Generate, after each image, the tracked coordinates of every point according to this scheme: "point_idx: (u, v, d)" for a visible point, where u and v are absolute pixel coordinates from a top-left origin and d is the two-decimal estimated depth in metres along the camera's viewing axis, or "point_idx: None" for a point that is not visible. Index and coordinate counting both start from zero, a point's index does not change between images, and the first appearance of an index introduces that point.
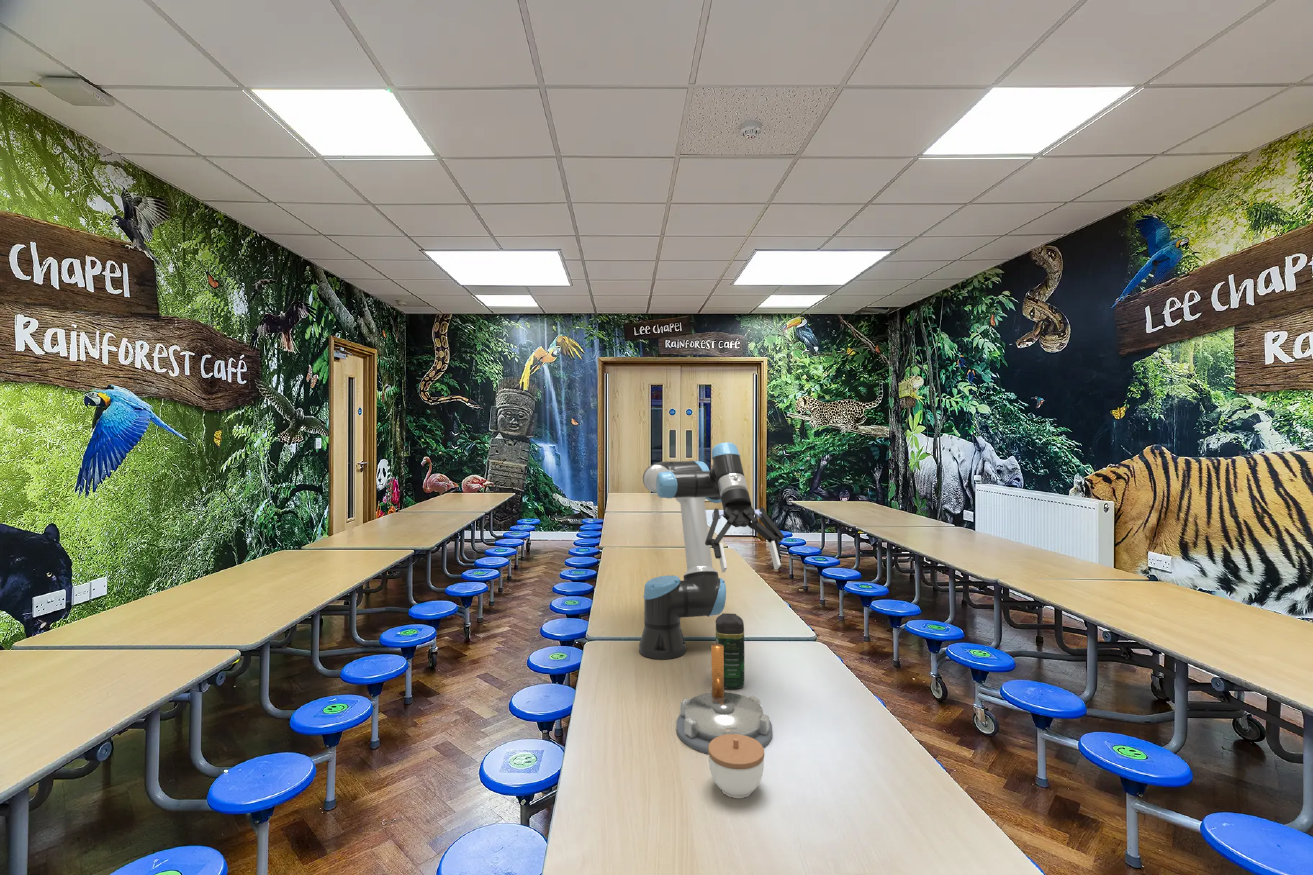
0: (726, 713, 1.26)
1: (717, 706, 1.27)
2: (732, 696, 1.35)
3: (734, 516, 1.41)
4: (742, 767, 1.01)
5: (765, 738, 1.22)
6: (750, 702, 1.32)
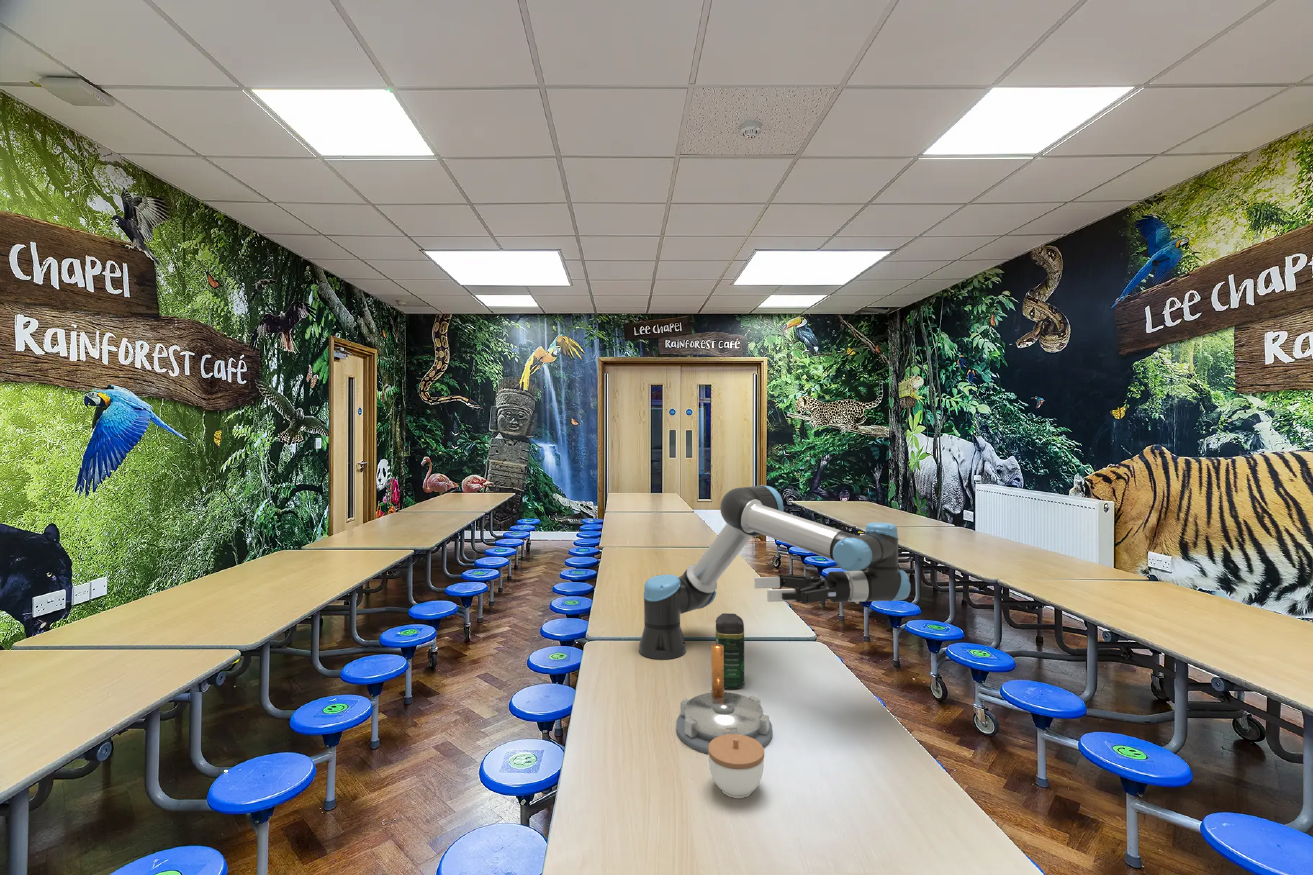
0: (726, 713, 1.26)
1: (717, 706, 1.27)
2: (732, 696, 1.35)
3: None
4: (742, 767, 1.01)
5: (765, 738, 1.22)
6: (750, 702, 1.32)
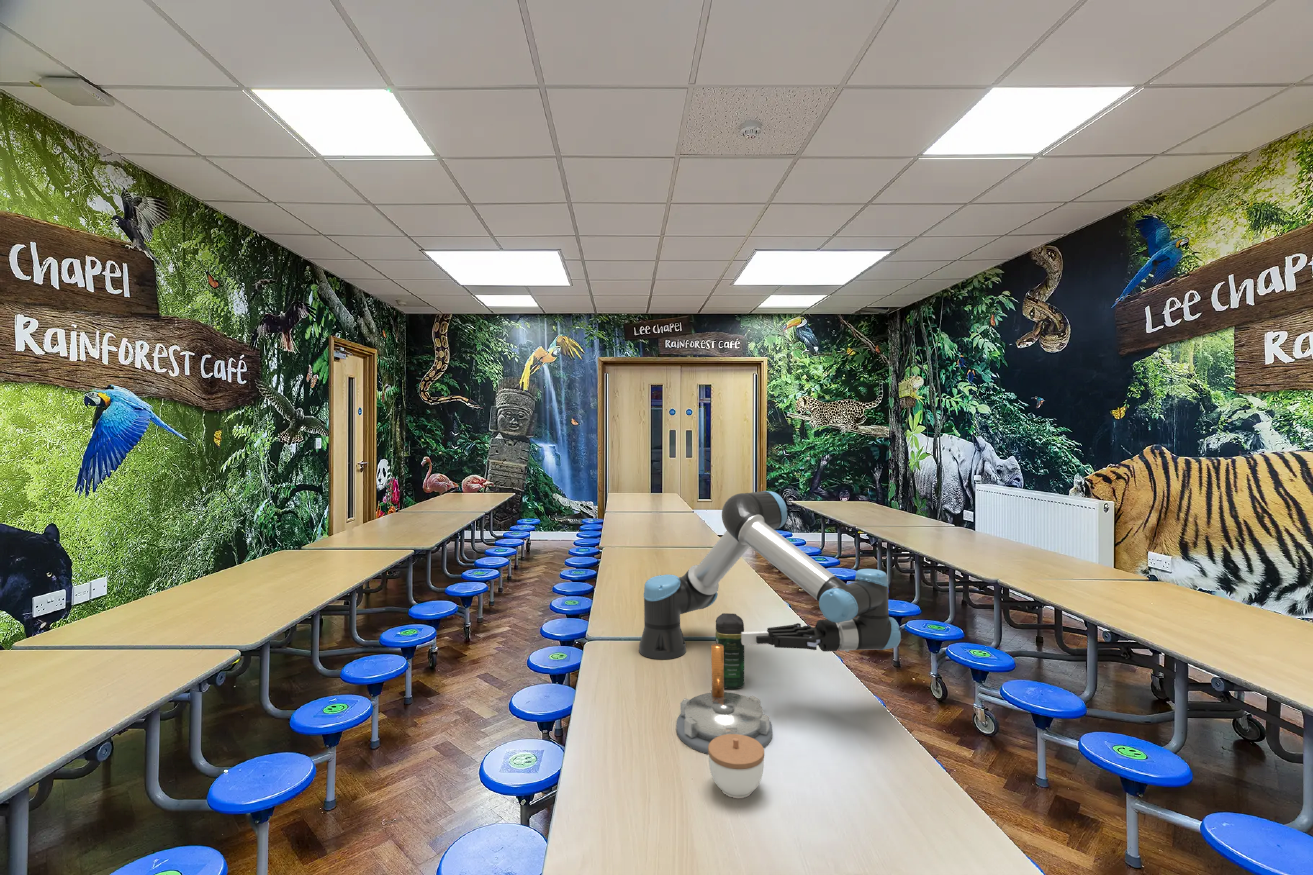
0: (726, 713, 1.26)
1: (717, 706, 1.27)
2: (732, 696, 1.35)
3: None
4: (742, 767, 1.01)
5: (765, 738, 1.22)
6: (750, 702, 1.32)
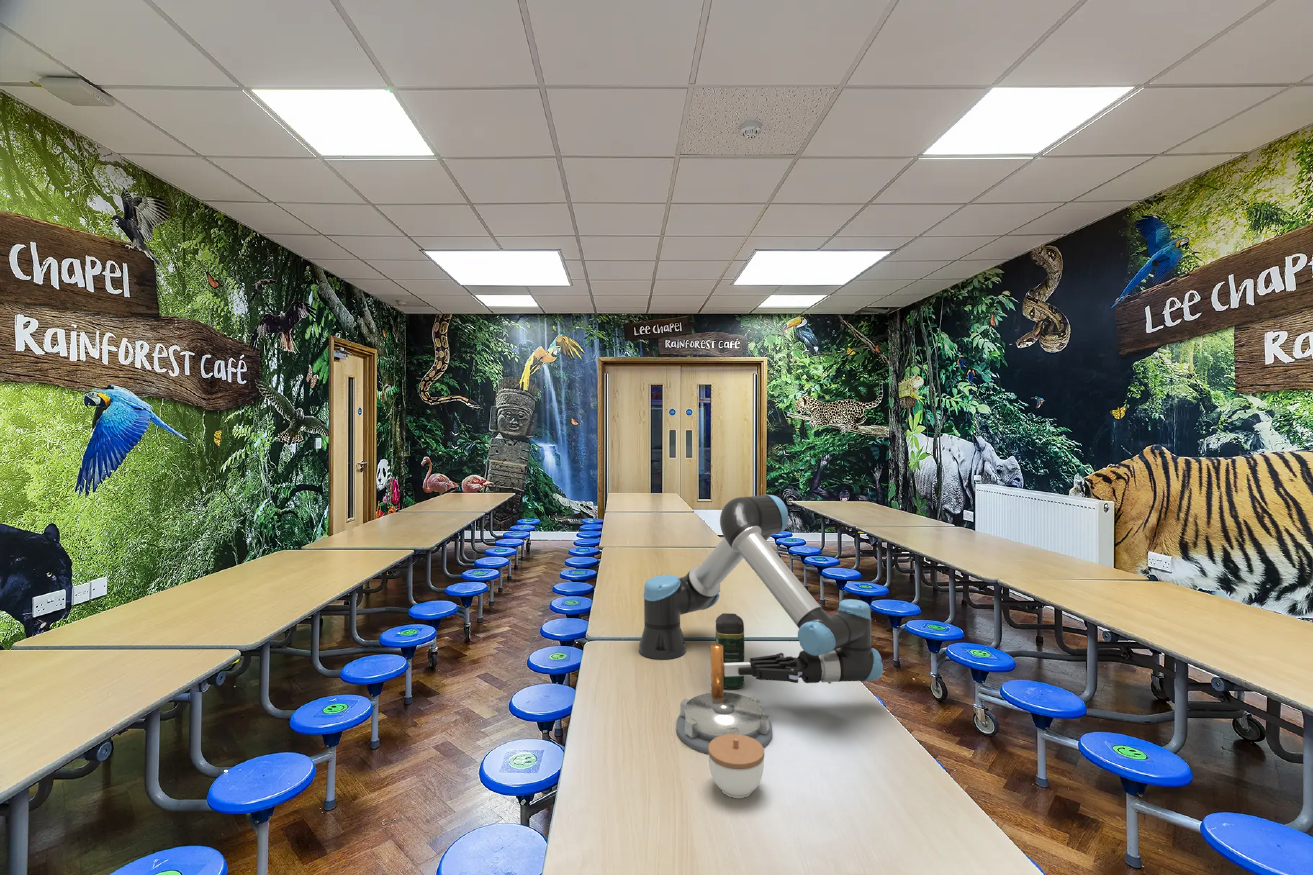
0: (726, 713, 1.26)
1: (717, 706, 1.27)
2: (732, 696, 1.35)
3: None
4: (742, 767, 1.01)
5: (765, 738, 1.22)
6: (750, 702, 1.32)
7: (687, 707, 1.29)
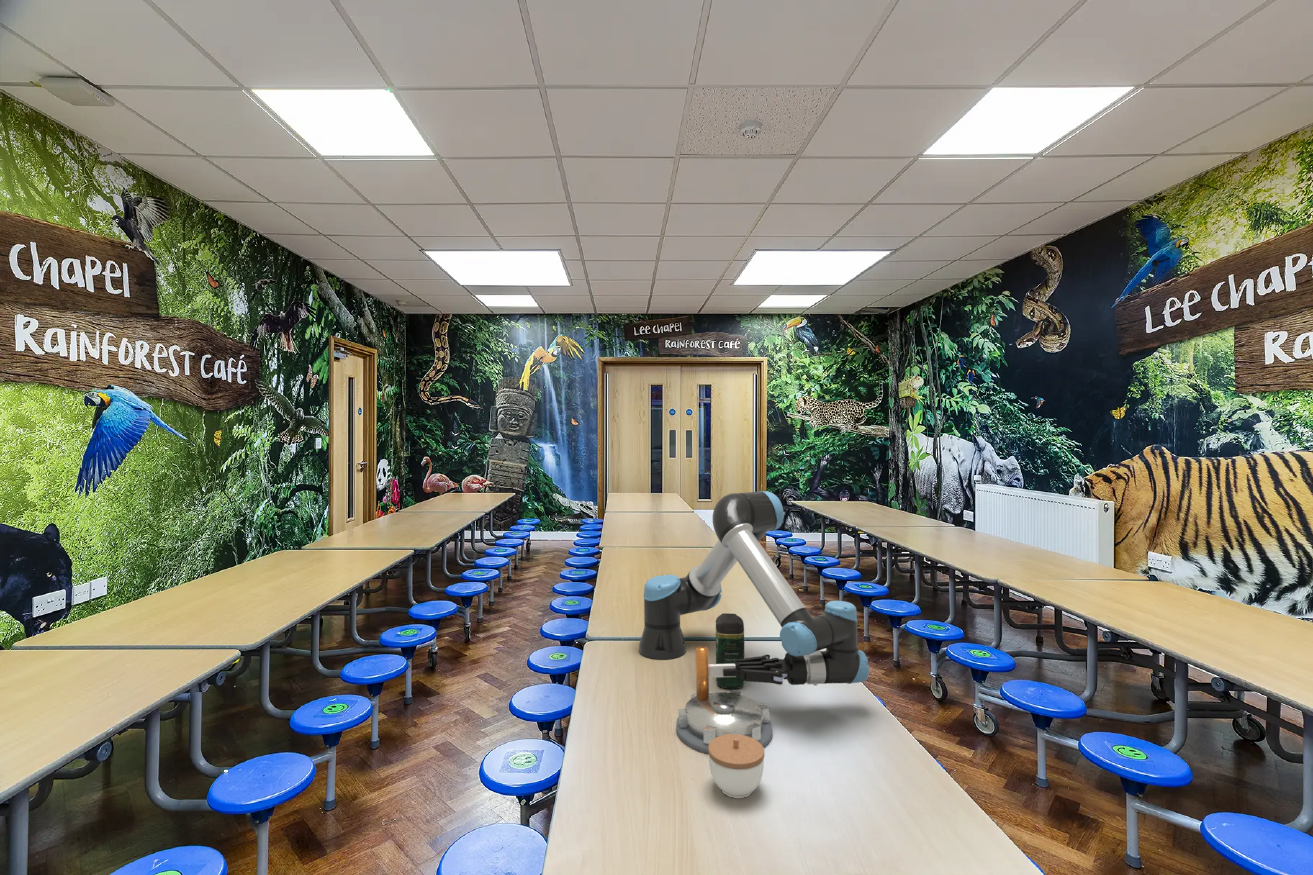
0: (731, 712, 1.27)
1: (721, 707, 1.27)
2: (716, 695, 1.36)
3: None
4: (742, 767, 1.01)
5: (765, 738, 1.22)
6: (736, 696, 1.35)
7: (691, 716, 1.25)
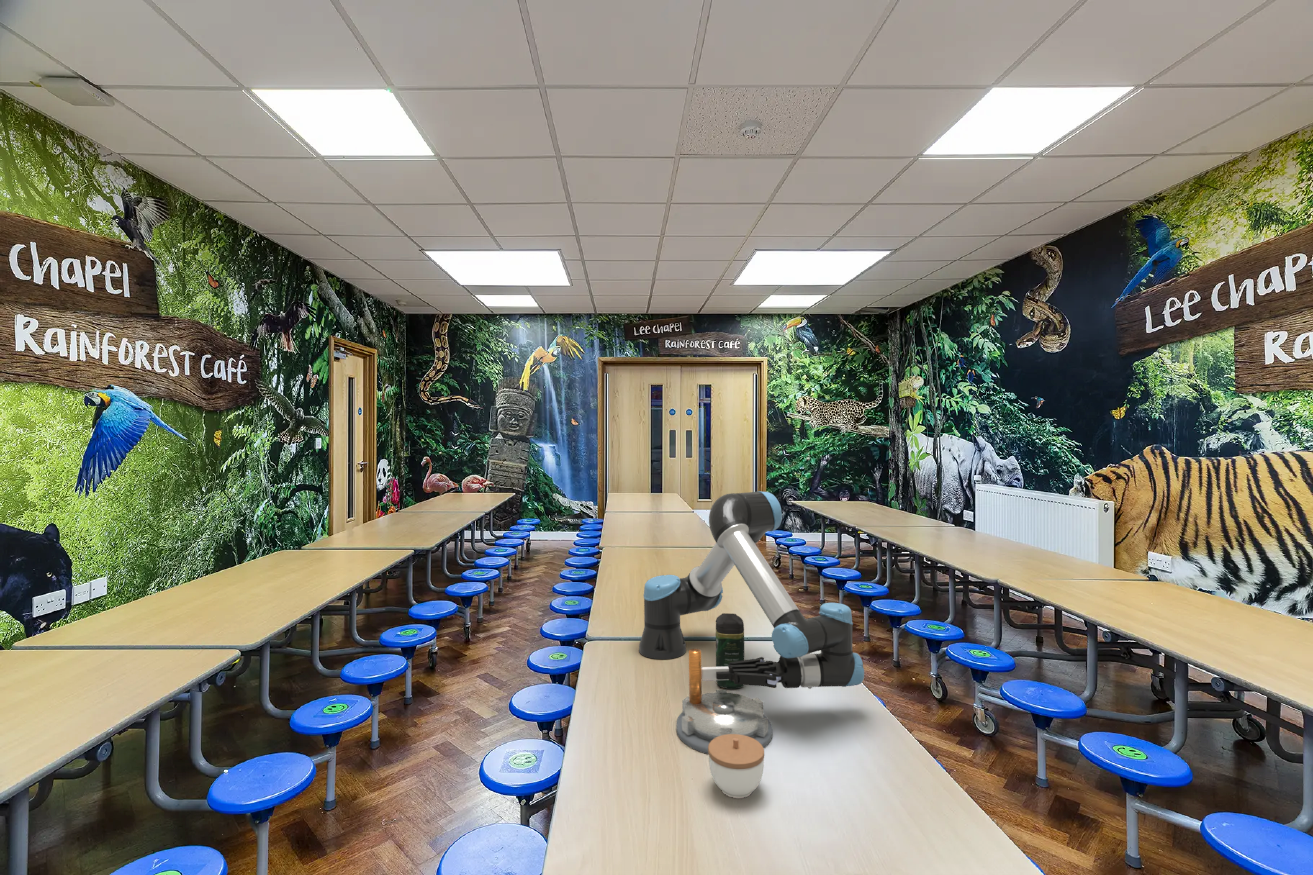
0: (733, 711, 1.27)
1: (724, 707, 1.26)
2: (706, 696, 1.35)
3: None
4: (742, 767, 1.01)
5: (765, 738, 1.22)
6: (726, 695, 1.36)
7: (700, 722, 1.22)
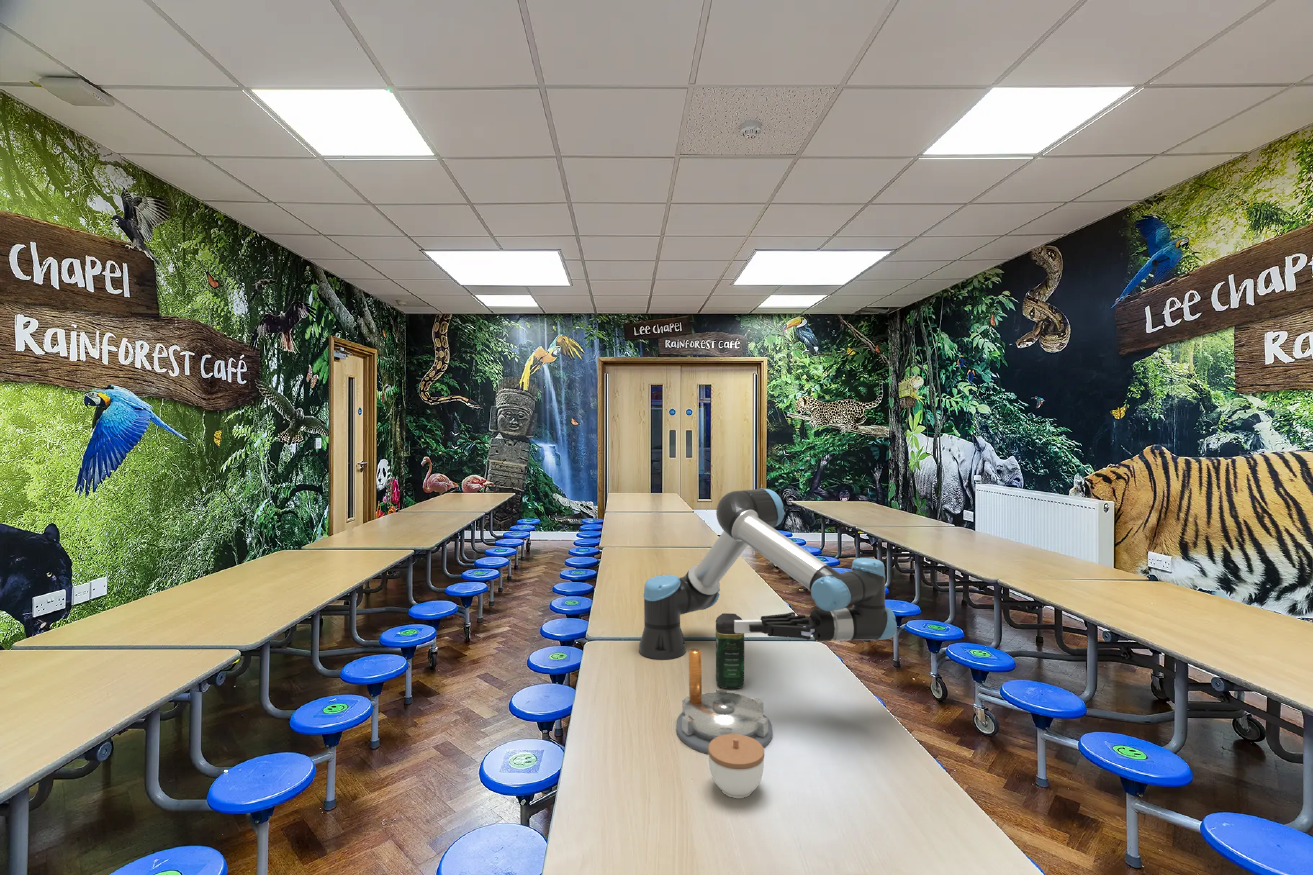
0: (733, 711, 1.27)
1: (724, 707, 1.26)
2: (706, 696, 1.35)
3: None
4: (742, 767, 1.01)
5: (765, 738, 1.22)
6: (726, 695, 1.36)
7: (700, 722, 1.22)
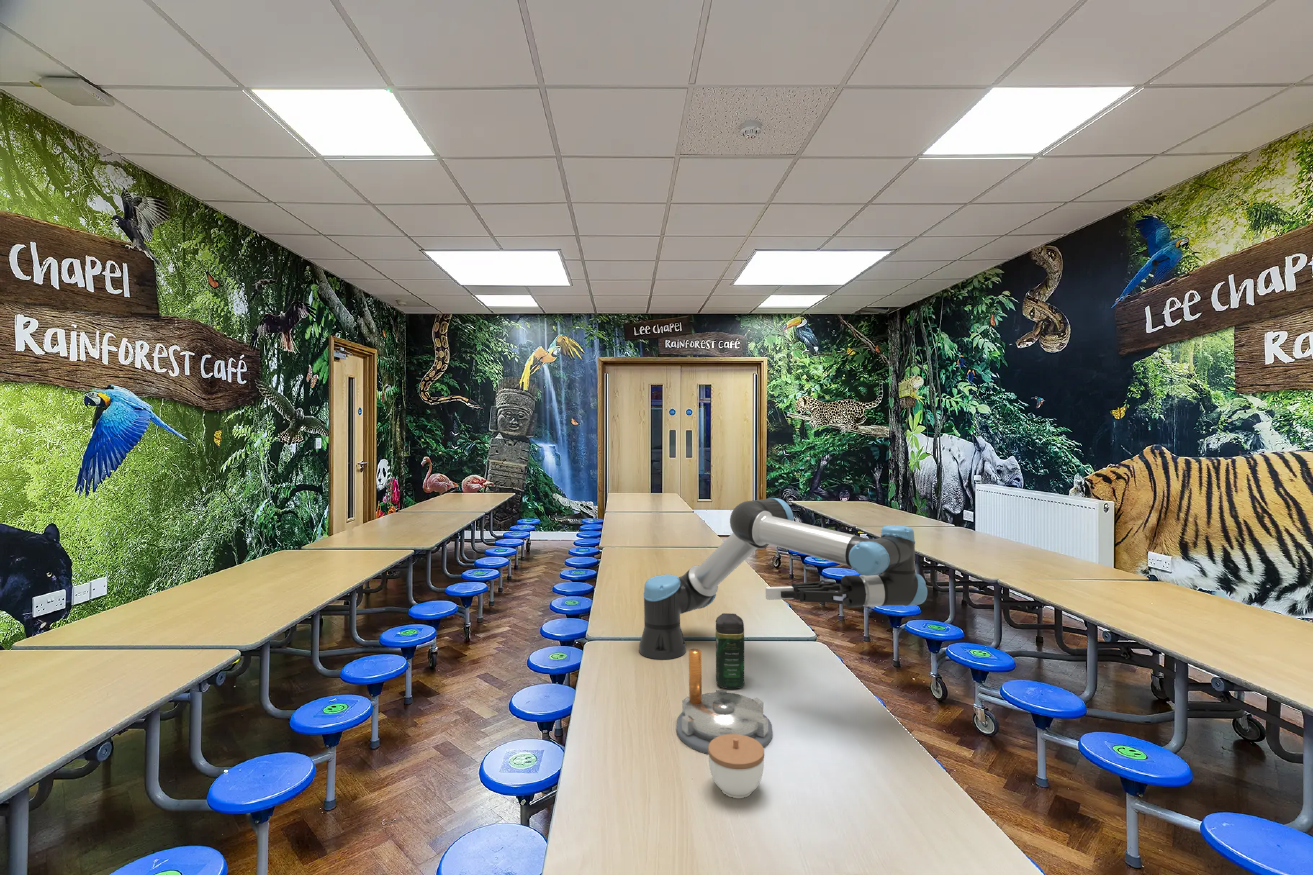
0: (733, 711, 1.27)
1: (724, 707, 1.26)
2: (706, 696, 1.35)
3: None
4: (742, 767, 1.01)
5: (765, 738, 1.22)
6: (726, 695, 1.36)
7: (700, 722, 1.22)
